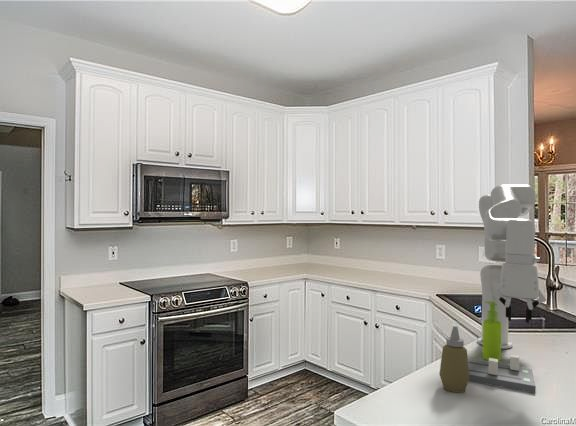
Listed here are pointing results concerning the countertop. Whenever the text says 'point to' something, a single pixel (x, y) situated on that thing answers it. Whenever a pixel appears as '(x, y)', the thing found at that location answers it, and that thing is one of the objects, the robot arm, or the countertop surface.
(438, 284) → the countertop surface
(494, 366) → the block
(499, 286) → the robot arm
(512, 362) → the block
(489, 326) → the soap dispenser
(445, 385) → the squeeze bottle
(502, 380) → the slider switch panel
